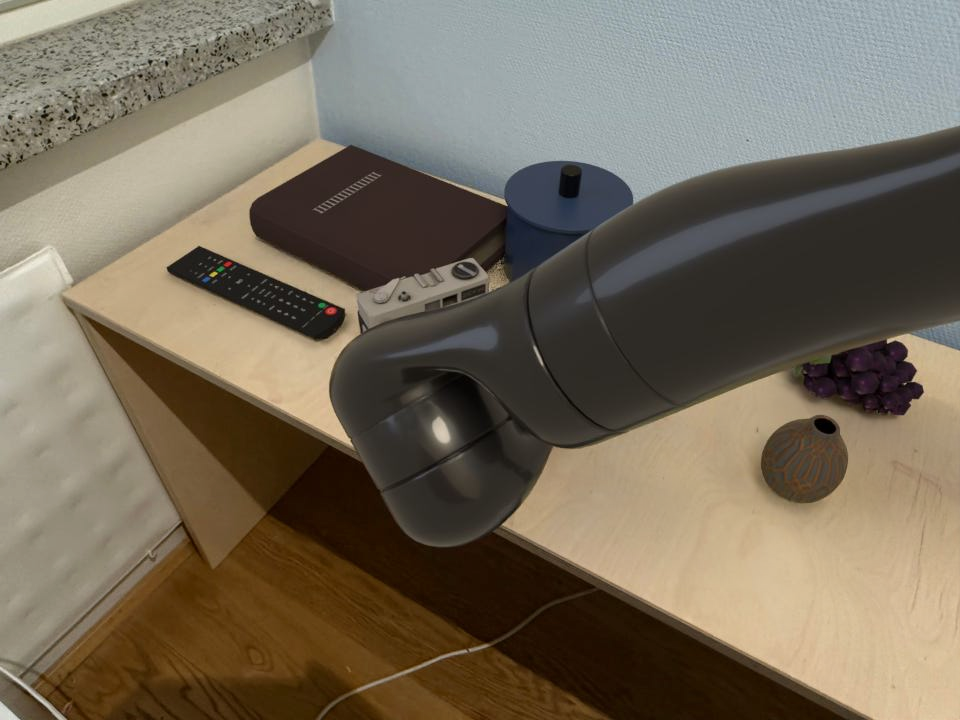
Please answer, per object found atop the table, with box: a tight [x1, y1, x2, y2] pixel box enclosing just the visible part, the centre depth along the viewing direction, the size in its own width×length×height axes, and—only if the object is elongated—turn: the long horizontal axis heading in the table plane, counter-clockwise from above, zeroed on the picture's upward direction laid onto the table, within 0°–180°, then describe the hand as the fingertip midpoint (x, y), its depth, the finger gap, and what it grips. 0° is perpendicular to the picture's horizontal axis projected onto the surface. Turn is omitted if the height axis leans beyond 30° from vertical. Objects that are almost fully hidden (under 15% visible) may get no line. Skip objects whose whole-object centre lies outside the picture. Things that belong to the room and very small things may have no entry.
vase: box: [760, 414, 849, 504], centre depth 60 cm, size 7×7×9 cm
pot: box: [503, 205, 587, 283], centre depth 82 cm, size 14×14×10 cm
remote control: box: [165, 245, 346, 341], centre depth 80 cm, size 5×24×1 cm, turn 60°
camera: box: [356, 258, 490, 334], centre depth 70 cm, size 14×9×10 cm, turn 111°
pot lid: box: [503, 160, 634, 234], centre depth 77 cm, size 15×15×4 cm
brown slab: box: [248, 144, 507, 292], centre depth 86 cm, size 28×20×6 cm
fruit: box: [792, 339, 925, 417], centre depth 69 cm, size 10×11×15 cm
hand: (657, 288), depth 57 cm, fingers open, 8 cm apart
